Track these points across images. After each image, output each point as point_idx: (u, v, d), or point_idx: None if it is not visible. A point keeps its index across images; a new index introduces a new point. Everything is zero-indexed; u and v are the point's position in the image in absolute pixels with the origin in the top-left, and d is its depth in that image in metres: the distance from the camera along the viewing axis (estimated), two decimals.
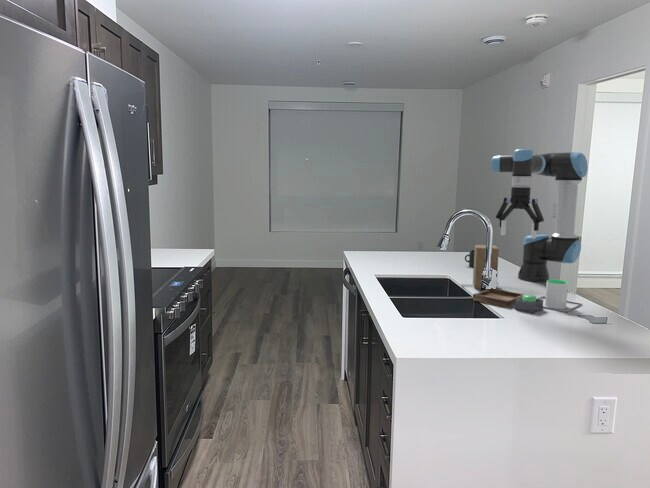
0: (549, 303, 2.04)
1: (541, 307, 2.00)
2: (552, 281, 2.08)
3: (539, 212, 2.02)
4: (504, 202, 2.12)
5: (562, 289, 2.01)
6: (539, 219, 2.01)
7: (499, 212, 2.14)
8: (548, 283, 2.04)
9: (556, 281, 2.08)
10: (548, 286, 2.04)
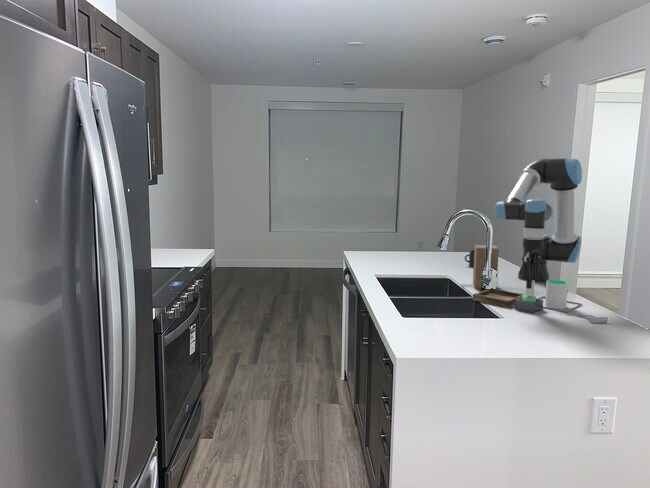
0: (549, 303, 2.04)
1: (541, 307, 2.00)
2: (552, 281, 2.08)
3: (526, 271, 1.95)
4: None
5: (562, 289, 2.01)
6: None
7: None
8: (548, 283, 2.04)
9: (556, 281, 2.08)
10: (548, 286, 2.04)
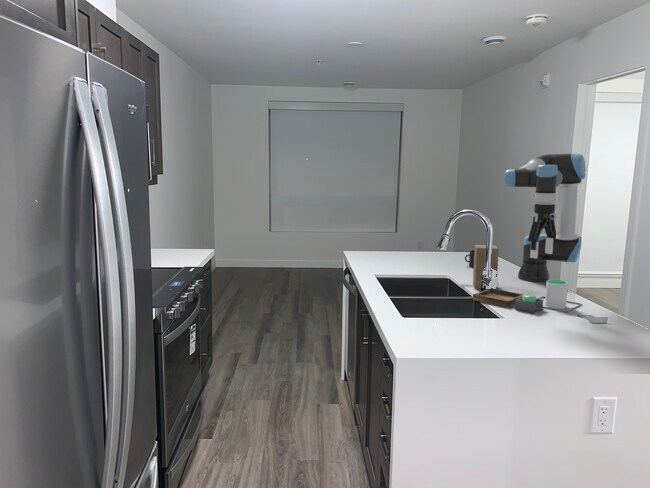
0: (549, 303, 2.04)
1: (541, 307, 2.00)
2: (552, 281, 2.08)
3: (533, 231, 1.93)
4: None
5: (562, 289, 2.01)
6: None
7: None
8: (548, 283, 2.04)
9: (556, 281, 2.08)
10: (548, 286, 2.04)
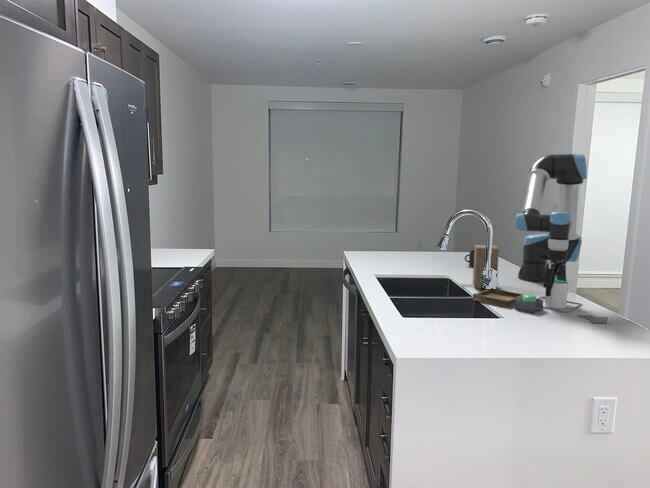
0: None
1: (541, 307, 2.00)
2: None
3: (547, 278, 2.01)
4: None
5: (562, 289, 2.01)
6: None
7: None
8: None
9: (556, 281, 2.08)
10: None
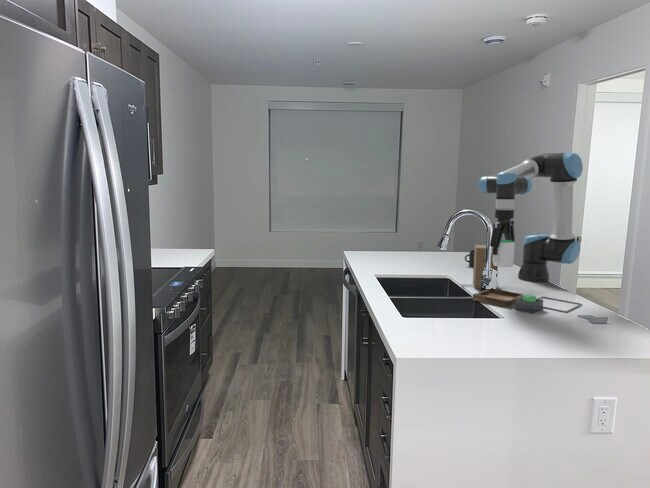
0: None
1: (541, 307, 2.00)
2: (500, 241, 2.13)
3: (494, 237, 2.05)
4: None
5: (508, 247, 2.05)
6: None
7: None
8: None
9: (504, 241, 2.12)
10: None
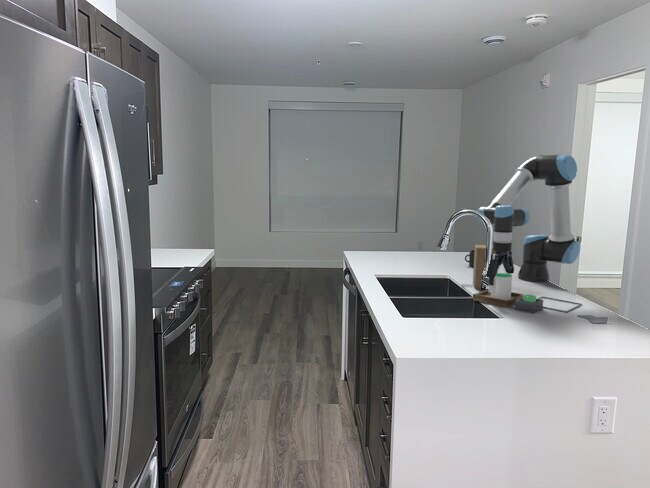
0: (494, 296, 2.11)
1: (541, 307, 2.00)
2: (498, 275, 2.15)
3: (490, 267, 2.06)
4: None
5: (506, 282, 2.08)
6: None
7: None
8: None
9: (501, 274, 2.15)
10: None
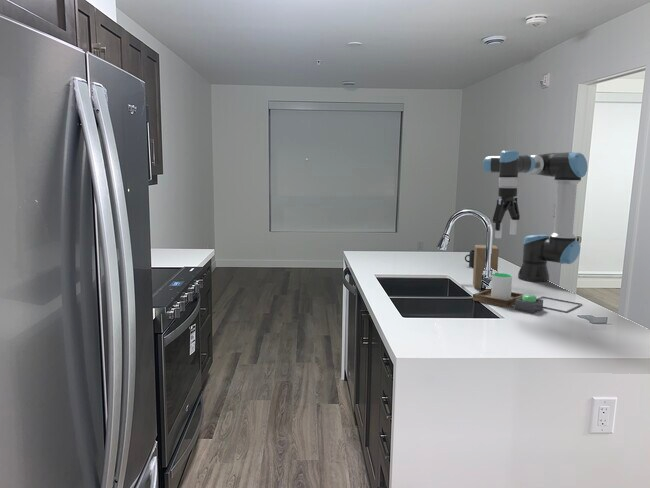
0: (494, 296, 2.11)
1: (541, 307, 2.00)
2: (498, 275, 2.15)
3: (497, 212, 2.07)
4: None
5: (506, 282, 2.08)
6: None
7: None
8: (493, 276, 2.11)
9: (501, 274, 2.15)
10: (493, 280, 2.11)
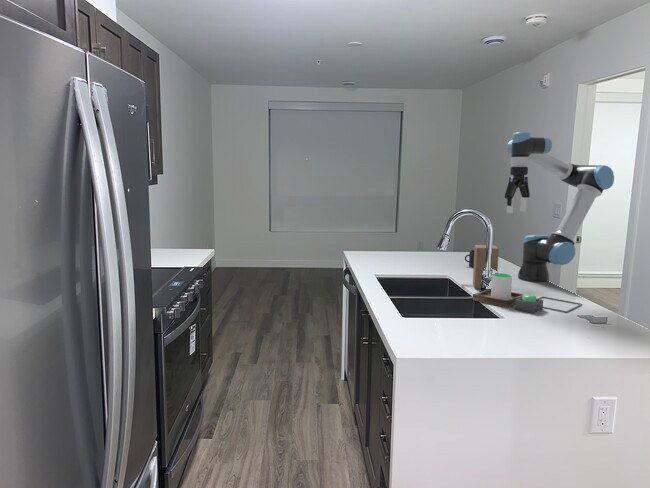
0: (494, 296, 2.11)
1: (541, 307, 2.00)
2: (498, 275, 2.15)
3: (509, 189, 2.24)
4: None
5: (506, 282, 2.08)
6: None
7: None
8: (493, 276, 2.11)
9: (501, 274, 2.15)
10: (493, 280, 2.11)
